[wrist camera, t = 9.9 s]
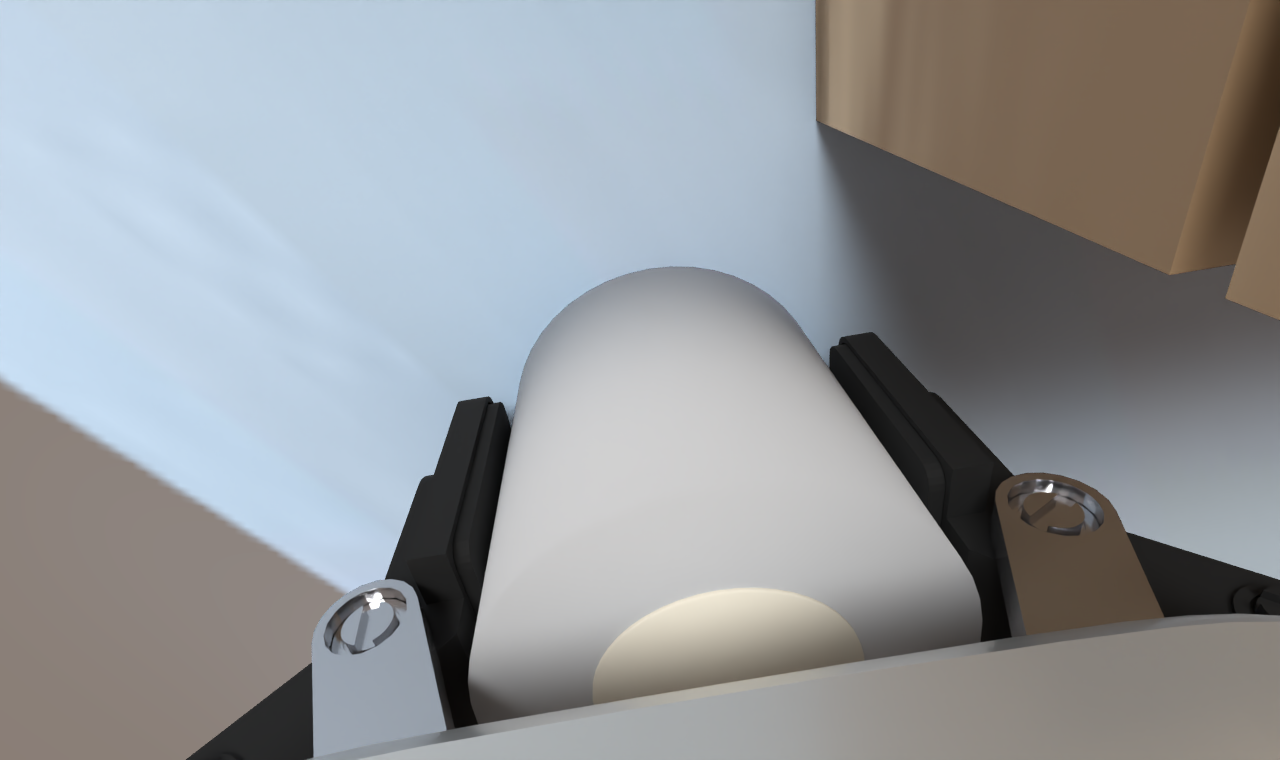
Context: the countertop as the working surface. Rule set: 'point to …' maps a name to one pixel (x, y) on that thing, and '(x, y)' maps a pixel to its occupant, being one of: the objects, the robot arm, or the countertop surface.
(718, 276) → the cream-capped white cylinder
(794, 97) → the countertop surface
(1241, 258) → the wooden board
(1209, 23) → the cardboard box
